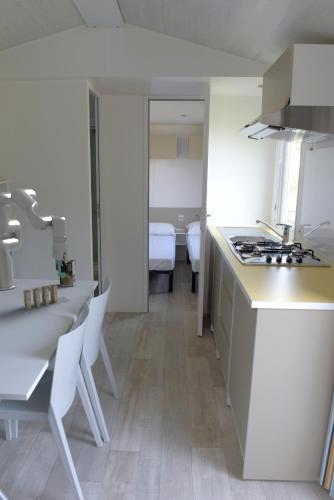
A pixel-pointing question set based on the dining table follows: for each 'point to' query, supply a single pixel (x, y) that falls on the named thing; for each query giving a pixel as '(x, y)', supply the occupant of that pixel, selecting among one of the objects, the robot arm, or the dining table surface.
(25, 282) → the dining table surface
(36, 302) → the domino
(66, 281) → the coffee box
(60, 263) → the teal domino
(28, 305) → the domino
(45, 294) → the domino
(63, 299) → the slate mat
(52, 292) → the domino
